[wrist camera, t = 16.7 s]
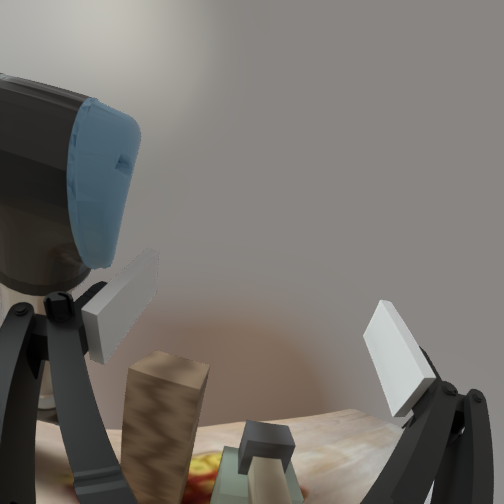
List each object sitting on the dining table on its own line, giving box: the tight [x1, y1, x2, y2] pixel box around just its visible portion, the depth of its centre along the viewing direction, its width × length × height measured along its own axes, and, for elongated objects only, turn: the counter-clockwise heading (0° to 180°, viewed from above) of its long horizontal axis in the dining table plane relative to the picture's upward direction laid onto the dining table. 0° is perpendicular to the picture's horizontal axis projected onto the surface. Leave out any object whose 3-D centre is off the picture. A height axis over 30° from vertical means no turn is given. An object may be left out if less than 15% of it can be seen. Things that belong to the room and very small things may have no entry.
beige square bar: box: [238, 420, 295, 504], centre depth 22 cm, size 6×22×6 cm, turn 2°
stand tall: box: [121, 350, 210, 504], centre depth 36 cm, size 10×13×30 cm
